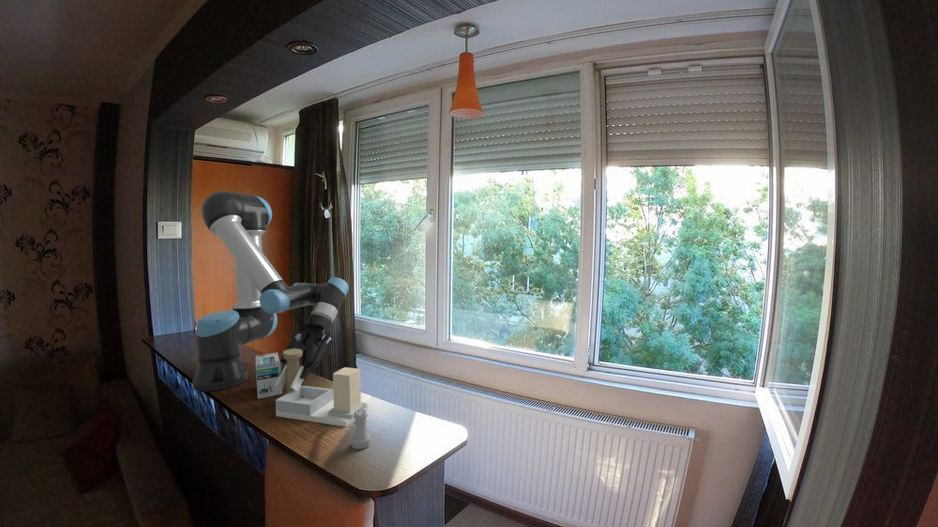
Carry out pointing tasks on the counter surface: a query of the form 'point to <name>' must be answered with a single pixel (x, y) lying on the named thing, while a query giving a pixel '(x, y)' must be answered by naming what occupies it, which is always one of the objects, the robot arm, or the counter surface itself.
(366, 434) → the rook chess piece
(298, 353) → the beige tall capped post
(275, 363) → the light bulb box
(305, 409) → the white tray base
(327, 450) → the counter surface
